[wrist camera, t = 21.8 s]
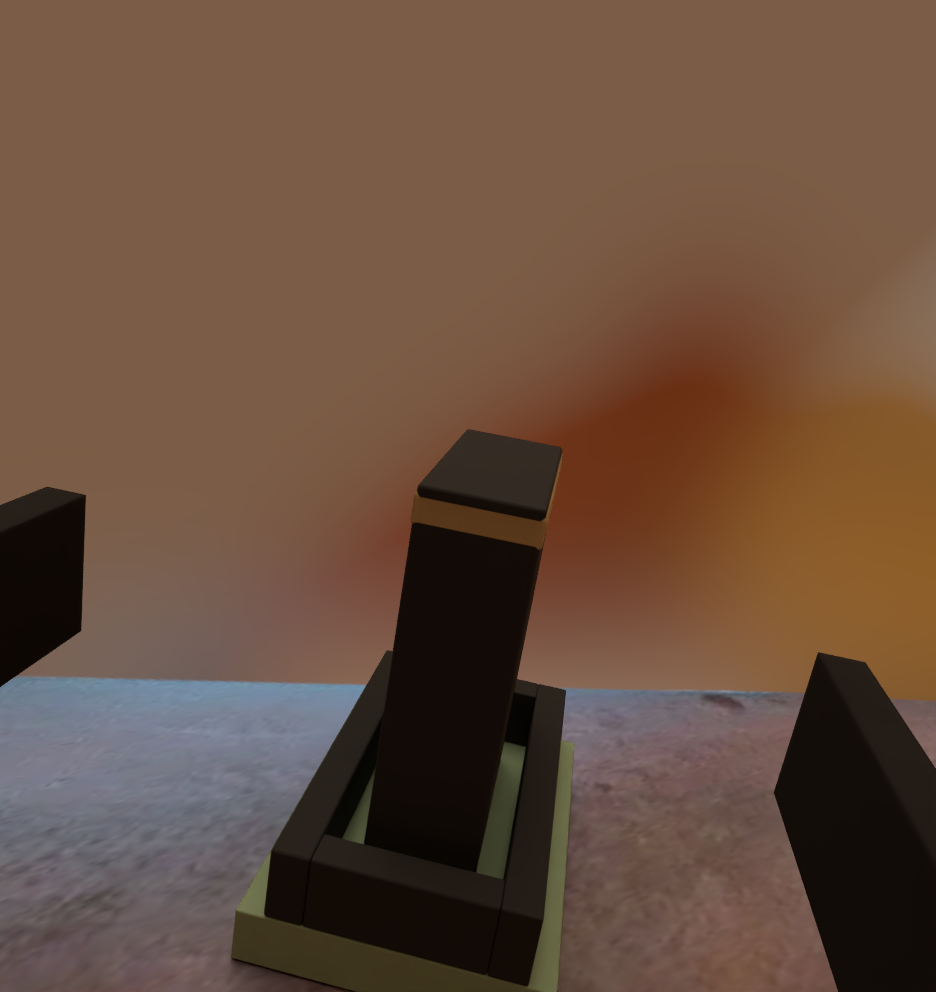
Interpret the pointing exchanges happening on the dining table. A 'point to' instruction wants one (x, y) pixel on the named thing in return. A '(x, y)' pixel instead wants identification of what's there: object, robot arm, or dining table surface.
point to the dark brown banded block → (459, 645)
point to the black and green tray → (419, 872)
